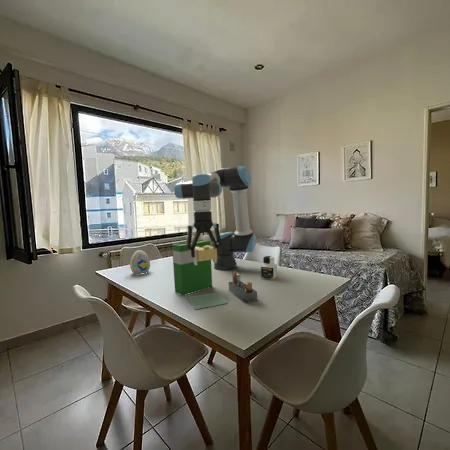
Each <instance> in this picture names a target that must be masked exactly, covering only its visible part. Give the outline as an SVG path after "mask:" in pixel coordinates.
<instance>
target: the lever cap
mask: <svg viewBox="0 0 450 450" xmlns="http://www.w3.org/2000/svg"><path fill="white" fill-rule="evenodd" d="M195 249H196V250H197V260H198V261H206V260H211V261H213V260H214V259H217V248H214V246H212V245H211V244H210V245H207V246H203V247H201V248H200V247H195Z"/></svg>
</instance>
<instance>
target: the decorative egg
mask: <svg viewBox="0 0 450 450" xmlns="http://www.w3.org/2000/svg"><path fill="white" fill-rule="evenodd" d="M129 267H130V268H129V269H130V270H131V273H132V274H134V273H135V274H141V273H146V272H147V273H148V272H149V270H150V269H151V268H150V267H151V260H150V258H149V255H148V254H147V253H146V252H145V251H143V250H142V249H141V250H140V249H138V250H136V251H135V252H133V254H132V256H131V258H130V261H129ZM147 273H146V274H147ZM135 274H134V275H135ZM141 275H142V274H141Z"/></svg>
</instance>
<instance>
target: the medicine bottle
mask: <svg viewBox="0 0 450 450" xmlns="http://www.w3.org/2000/svg"><path fill="white" fill-rule="evenodd" d="M262 259H263V260H262V261H263V265H261V266H260V276H261V277H260V278H261V280H262V279H263V280H270V281H273V280H274V281H275V279H276V278H277V277H278V264H276V263H275V257H274V256H272V255H266V256H265V255H264V257H263V258H262Z"/></svg>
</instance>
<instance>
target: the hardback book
mask: <svg viewBox="0 0 450 450" xmlns="http://www.w3.org/2000/svg"><path fill="white" fill-rule="evenodd" d="M192 242H193V240H191V245H192ZM207 245H210V246H211V240H204V241H203V239H198V241H197V244H196V247H200V248H201V247H203V246H207ZM186 246H187V241H184V242H177V243H172V246H171V248H172V249H171V250H172V251H171V252H172V263H173V264H172V266H173V280H174V292H175V293H176V292H177V293H176V294H178V293H179V294H178V295H180V294H181V296H182V295H183V296H186V295H185V294H187V295H189V294H188V293H190V294H193V293H196V292H198V290H200V291H203V290H206V289H209V288H212V287H213V275H212V273H213V272H212V260H206V261H198V260H197V265H195V264H194V257H192V256H191V249H188V248H187V247H186ZM208 287H209V288H208ZM205 288H206V289H205ZM202 289H203V290H202ZM195 291H196V292H195ZM192 292H193V293H192Z"/></svg>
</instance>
